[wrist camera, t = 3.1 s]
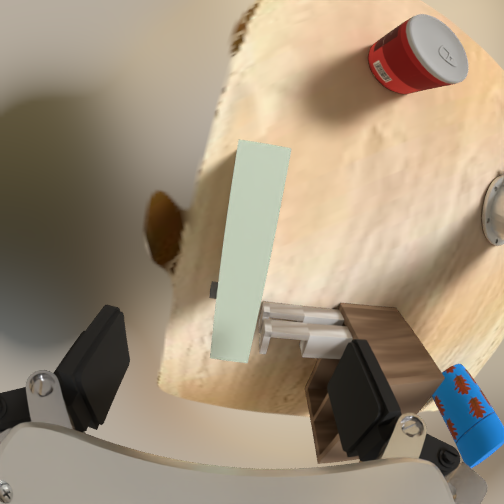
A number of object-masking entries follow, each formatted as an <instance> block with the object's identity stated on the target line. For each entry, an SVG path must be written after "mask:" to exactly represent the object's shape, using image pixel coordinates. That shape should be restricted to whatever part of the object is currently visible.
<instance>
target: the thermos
mask: <svg viewBox="0 0 504 504" xmlns="http://www.w3.org/2000/svg"><path fill="white" fill-rule="evenodd" d="M442 374H443V376H444V377H445V379H444V380H443V382H442V383H441V384H440V386H439V387H438V388H437V390H436V391H435V392H434V394H433V395H432V397H433V399H434V401H435V404H436V406H437V407H438V409H439V411H440V413H441V415H442V417H443V419H444V421H445V423H446V425H447V427H448V429H449V431H450V433H451V435H452V437H453V439H454V441H455V443H456V445H457V447H458V450H459V452H460V454H461V456H462V458H463V461H464V463H466V464H467V465H468V466H469V467H470V468H473V467H474V466H476V465H478V464H479V463H481V462H482V461H483V460H485V459H486V458H487V457H489V456H490V455H491V454H493V453H494V452H495V451H496V450H497V449H498V448H499V447H501V446H502V445H503V443H504V426H503V425H502V423H501V421H500V420H499V418H498V416H497V415H496V413H495V411H494V410H493V408H492V407H491V405H490V403H489V402H488V400H487V399H486V397H485V395H484V394H483V392H482V391H481V389H480V388H479V386H478V385H477V384H476V382H475V381H474V379H473V378H472V376H471V375H470V374H469V372H468V371H467V370H466V369H465V368H464V366H463V365H461V364H456V365H454V366H452V367H450V368H448V369H447V370H445V371H444V372H443V373H442Z"/></svg>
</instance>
